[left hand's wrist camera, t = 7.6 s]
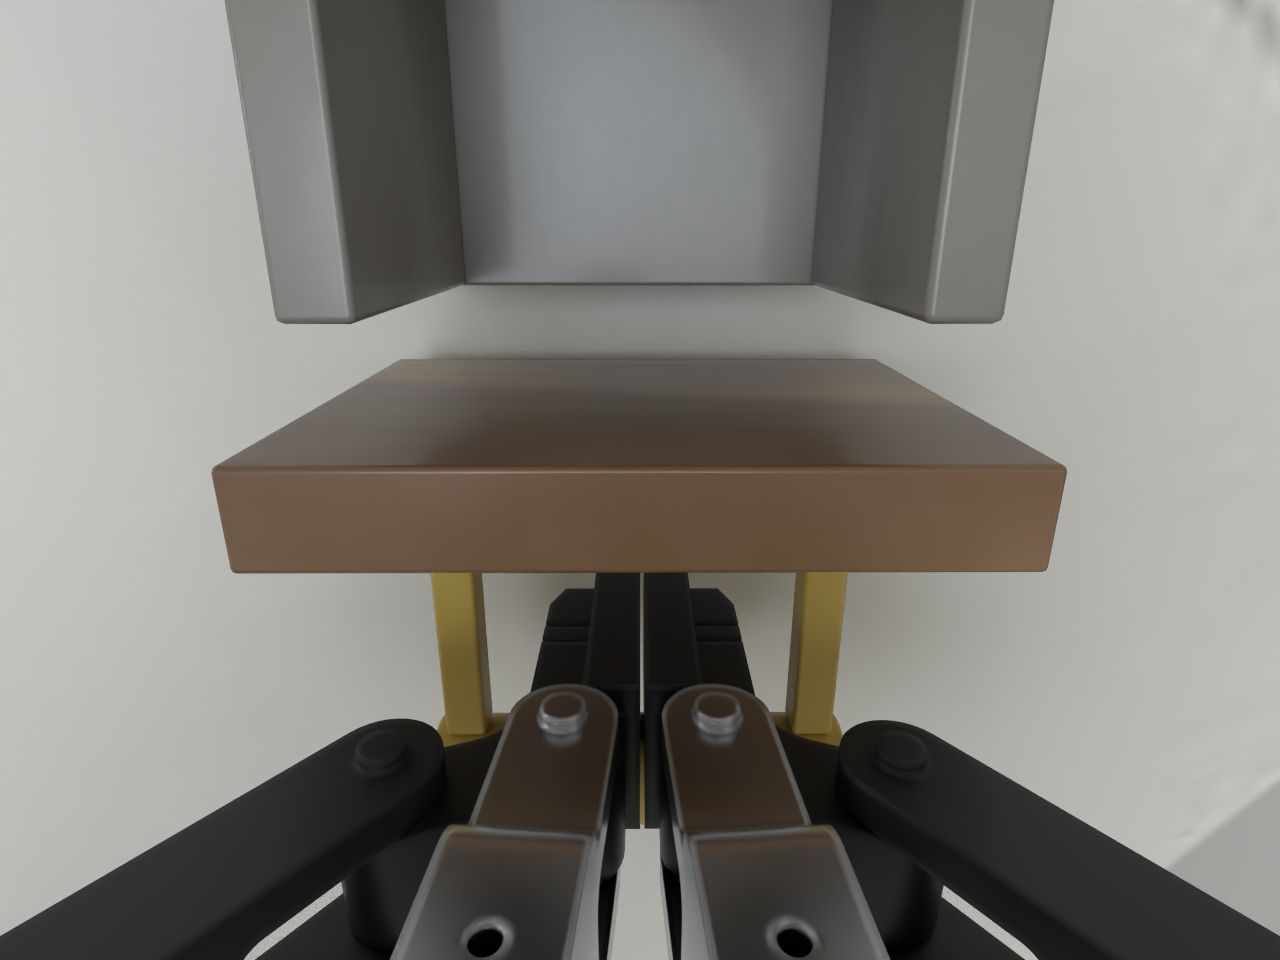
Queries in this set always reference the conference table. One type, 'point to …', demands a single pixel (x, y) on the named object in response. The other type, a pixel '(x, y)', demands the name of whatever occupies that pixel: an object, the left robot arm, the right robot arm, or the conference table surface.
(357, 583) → the conference table surface
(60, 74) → the conference table surface
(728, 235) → the drawer
